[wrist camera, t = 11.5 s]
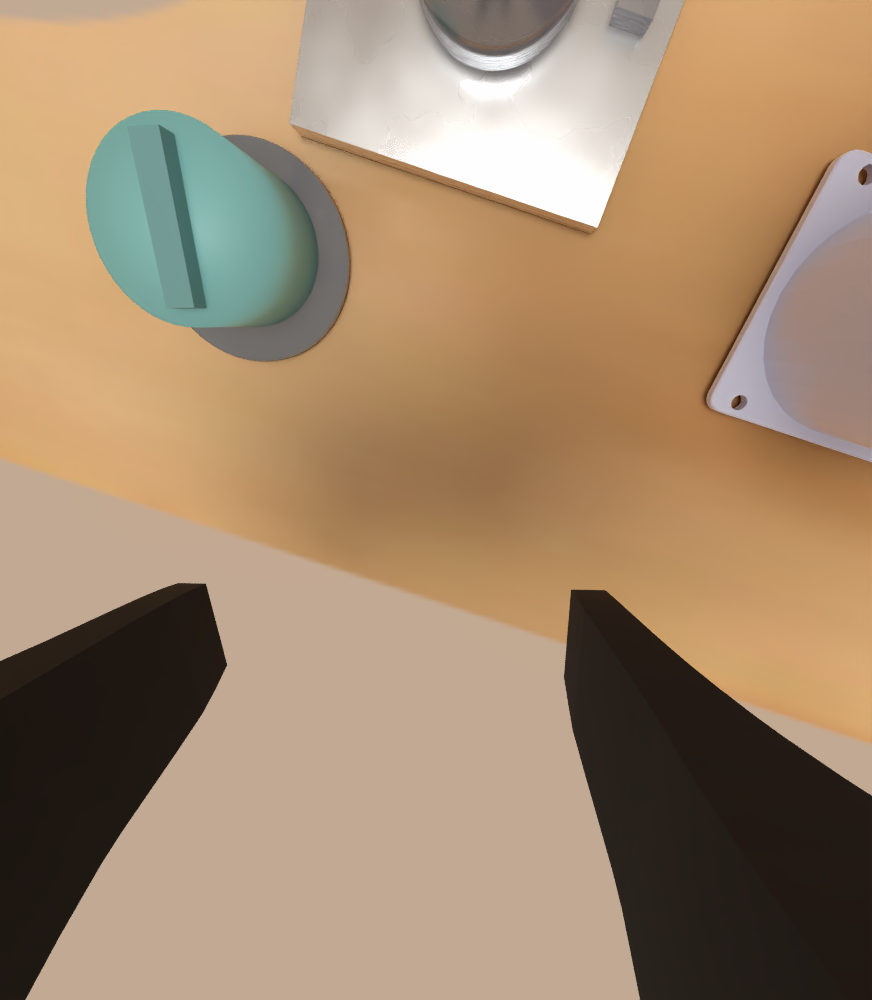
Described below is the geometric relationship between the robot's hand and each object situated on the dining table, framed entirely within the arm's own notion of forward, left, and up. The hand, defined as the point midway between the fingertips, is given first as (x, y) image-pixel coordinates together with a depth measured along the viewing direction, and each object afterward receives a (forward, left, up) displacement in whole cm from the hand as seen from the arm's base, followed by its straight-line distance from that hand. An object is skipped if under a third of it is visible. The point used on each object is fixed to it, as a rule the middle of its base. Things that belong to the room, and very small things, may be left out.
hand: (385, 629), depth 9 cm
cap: (+9, -6, -10) cm, 14 cm away
